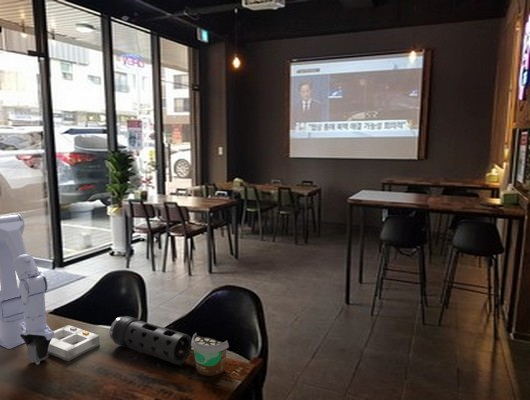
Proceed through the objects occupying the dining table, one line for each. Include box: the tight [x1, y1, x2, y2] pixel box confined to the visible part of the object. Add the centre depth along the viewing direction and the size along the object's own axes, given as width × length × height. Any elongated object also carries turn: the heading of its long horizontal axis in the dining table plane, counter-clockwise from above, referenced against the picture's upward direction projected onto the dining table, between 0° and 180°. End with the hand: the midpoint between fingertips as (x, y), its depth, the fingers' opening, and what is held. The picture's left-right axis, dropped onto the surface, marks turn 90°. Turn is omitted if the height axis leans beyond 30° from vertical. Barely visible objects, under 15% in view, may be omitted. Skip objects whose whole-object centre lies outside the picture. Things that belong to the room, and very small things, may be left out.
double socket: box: [48, 324, 101, 362], centre depth 138 cm, size 16×12×4 cm
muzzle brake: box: [109, 315, 193, 367], centre depth 134 cm, size 10×28×10 cm, turn 61°
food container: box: [191, 332, 230, 377], centre depth 124 cm, size 12×6×10 cm, turn 65°
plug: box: [26, 342, 49, 365], centre depth 129 cm, size 4×4×6 cm
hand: (38, 355), depth 129 cm, fingers closed on plug, 4 cm apart
